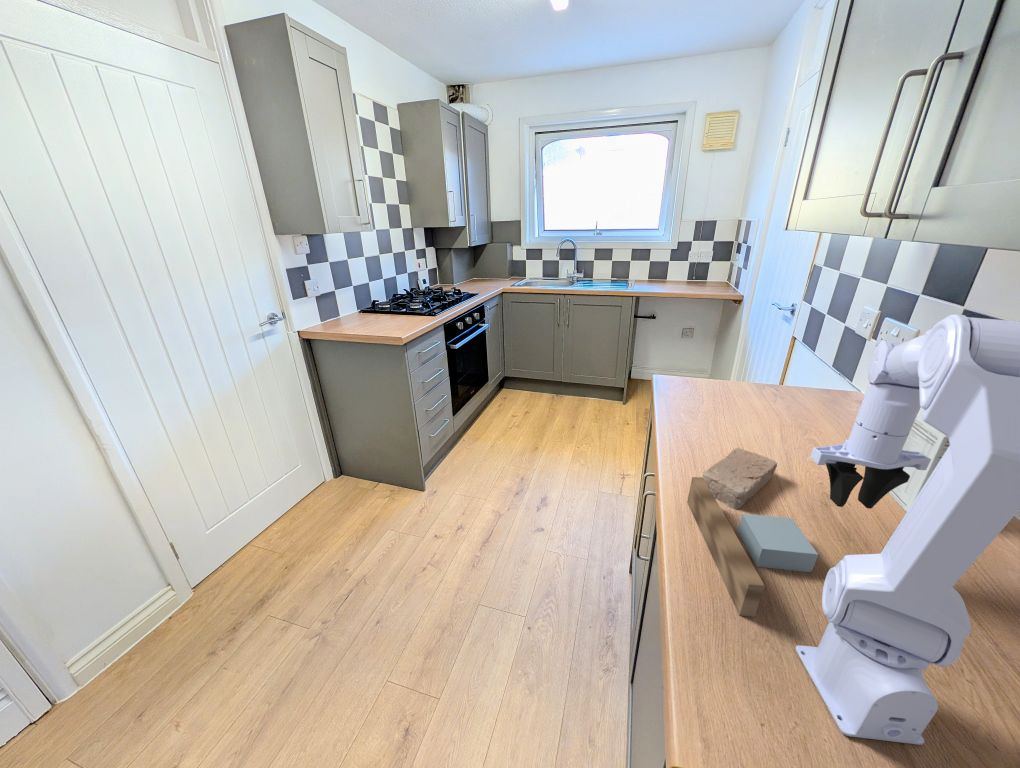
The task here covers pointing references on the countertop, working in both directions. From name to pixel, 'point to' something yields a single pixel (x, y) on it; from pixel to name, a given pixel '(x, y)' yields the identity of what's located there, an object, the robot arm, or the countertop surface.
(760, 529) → the grey block
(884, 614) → the robot arm
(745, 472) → the brick
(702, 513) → the fence board
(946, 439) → the supplement box
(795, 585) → the countertop surface
